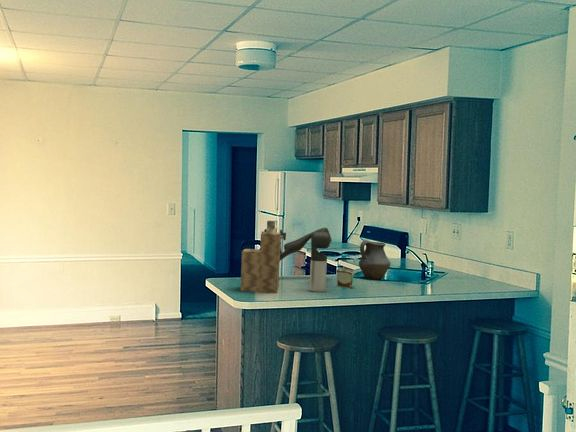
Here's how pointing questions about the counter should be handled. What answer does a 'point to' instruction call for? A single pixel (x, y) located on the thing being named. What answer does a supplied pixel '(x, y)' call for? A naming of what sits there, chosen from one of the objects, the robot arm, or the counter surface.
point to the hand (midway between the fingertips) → (273, 230)
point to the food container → (344, 277)
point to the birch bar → (271, 227)
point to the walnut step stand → (262, 265)
